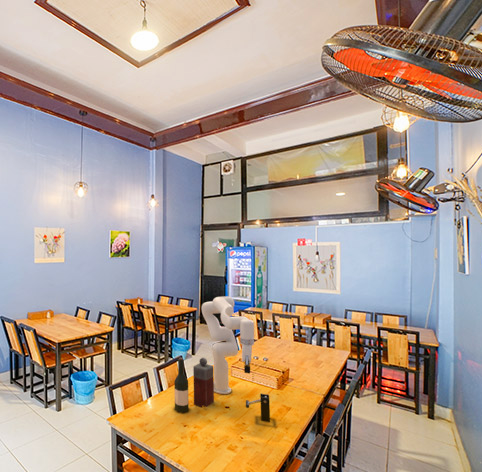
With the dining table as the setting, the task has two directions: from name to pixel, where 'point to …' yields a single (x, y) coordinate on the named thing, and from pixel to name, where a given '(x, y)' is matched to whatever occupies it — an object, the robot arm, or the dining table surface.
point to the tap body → (265, 408)
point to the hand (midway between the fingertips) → (247, 372)
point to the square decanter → (203, 384)
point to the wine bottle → (181, 389)
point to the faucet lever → (252, 402)
